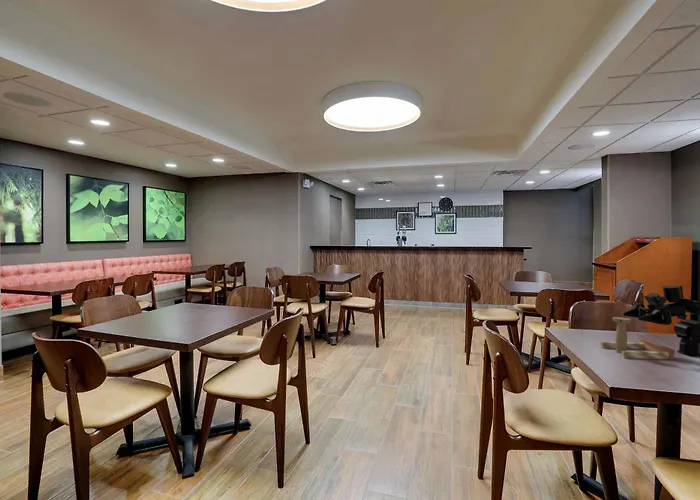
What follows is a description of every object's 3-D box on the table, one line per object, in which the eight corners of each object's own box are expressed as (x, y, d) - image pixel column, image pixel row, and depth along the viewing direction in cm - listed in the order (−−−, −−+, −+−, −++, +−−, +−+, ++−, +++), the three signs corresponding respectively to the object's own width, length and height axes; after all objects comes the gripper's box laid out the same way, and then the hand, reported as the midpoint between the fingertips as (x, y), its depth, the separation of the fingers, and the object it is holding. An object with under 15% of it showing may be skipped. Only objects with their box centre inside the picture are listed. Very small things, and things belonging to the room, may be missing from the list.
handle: (629, 355, 155) (630, 320, 155) (610, 352, 160) (611, 318, 160) (631, 353, 159) (631, 318, 158) (613, 349, 163) (613, 316, 163)
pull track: (645, 348, 166) (645, 339, 166) (674, 359, 150) (674, 349, 150) (600, 346, 168) (600, 338, 168) (624, 358, 152) (624, 348, 152)
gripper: (648, 289, 167) (613, 295, 168) (683, 295, 148) (643, 301, 149) (652, 313, 167) (617, 318, 168) (687, 322, 149) (648, 328, 150)
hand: (630, 316), depth 159 cm, fingers open, 9 cm apart
